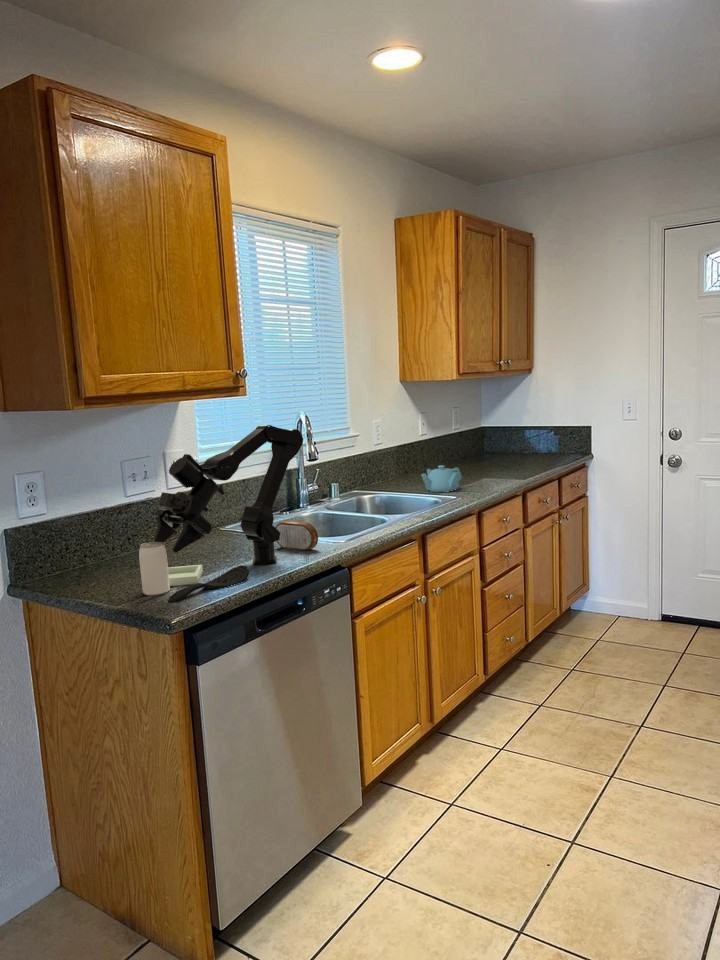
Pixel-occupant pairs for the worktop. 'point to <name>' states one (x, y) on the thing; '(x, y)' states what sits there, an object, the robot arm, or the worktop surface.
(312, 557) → the worktop surface
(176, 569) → the tray
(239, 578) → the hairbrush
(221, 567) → the worktop surface
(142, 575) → the can
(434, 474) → the teapot
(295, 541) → the tin
